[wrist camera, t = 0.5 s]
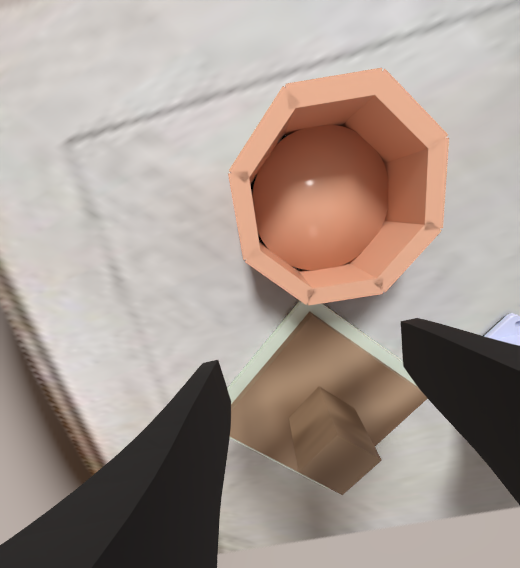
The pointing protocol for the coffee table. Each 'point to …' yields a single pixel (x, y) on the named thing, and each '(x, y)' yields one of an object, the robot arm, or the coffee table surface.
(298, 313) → the mat
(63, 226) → the coffee table surface
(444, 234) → the coffee table surface
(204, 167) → the coffee table surface
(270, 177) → the bowl
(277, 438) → the lid
